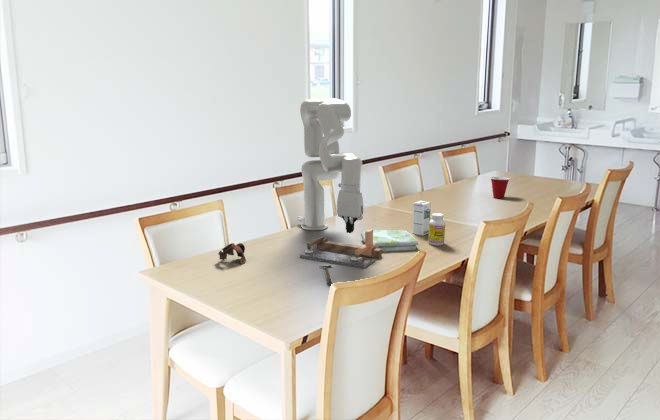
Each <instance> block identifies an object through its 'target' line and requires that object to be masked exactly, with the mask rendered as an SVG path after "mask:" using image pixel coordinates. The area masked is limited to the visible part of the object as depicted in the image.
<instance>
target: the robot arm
mask: <svg viewBox="0 0 660 420" xmlns="http://www.w3.org/2000/svg"><path fill="white" fill-rule="evenodd" d="M299 108H300V109H299V111H300V117H301V120H302V124H303V131H304V132H303V140H304V141H303V142H304V143H303V145H304V153H305V156H306V157H308V158H319V159H315V160H313V159H312V160H307V161H305V162H303V164H302V165H301V175H302V177H301V178H302V181H303V211H304V213H303V216H300V215H299V216H298V217H297V222H301V224H300V227H302V228H301V229H302V230H303V229H304V230H307V231H322V230H325V229H328V227H329V224H328V223H327V222H325V219H326V218H325V217H326V215H325V189H324V187H323V185H322V184H321V183H320V182H321V181H332V180H336V179H337V178H338V177H339V175H341V182H340V183H338V185H337V186H338V187H339V188H340V190H339V191H338V194H337V201H336V202H337V203H336V215H337V217H339V218H341V219H343V221H344V224H345V231H346V233H348V234H351V233H353V232H354V230H355V223H356V222H357V221H361V220H364V218H363V217H364V215H363V214H364V200H363V199H364V198H363V197H364V196H363V193H362V191H361V169H362V168H361V167H362V165H361V164H362V163H361V162H362V161H361V158H360V157H359V156H356V155H355V154H354V153H352V152H340V143H339V140H340V139H342V137H343V136H344V134H345V130H344V126H343V123H342V122H348V121H349V120H350V119H351V117H352V111H351V107H350V105H349V104H348V102H347V101H345V100H341V99H339V98H311V99H305V100H303V101H302V102H301V104H300V107H299ZM340 173H341V174H340Z"/></svg>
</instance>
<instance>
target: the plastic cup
mask: <svg viewBox="0 0 660 420" xmlns="http://www.w3.org/2000/svg"><path fill="white" fill-rule="evenodd" d="M510 179H511V178H510V177H509V178H508V177H503V176H490V181H491V188H492V196H493V197H492V198H493V199H495V198H496V200H503V199H505V195H506V191H507V189H508V188H507V187H508V184H509V181H510Z"/></svg>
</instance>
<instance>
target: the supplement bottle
mask: <svg viewBox="0 0 660 420" xmlns="http://www.w3.org/2000/svg"><path fill="white" fill-rule="evenodd" d="M431 218H432V219H430V222H429V233H428V244H430V245H432V246H443V245H444V244H445V236H446V234H445V233H446V221H445V220H444V214H443V213H440V212H436V213H435V212H434V213H432V214H431Z"/></svg>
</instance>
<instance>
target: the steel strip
mask: <svg viewBox="0 0 660 420" xmlns="http://www.w3.org/2000/svg"><path fill="white" fill-rule="evenodd" d="M300 258H301V259H306V260H312V261H319V262H323V263H329V264H336V265H341V266H348V267H353V268H358V269H366V268H367V267H369V266H370V265H372V264H373V262H374V259H373V258H366V257H361V256H359V257H358V258H356V257H355V255H348V254H342V253H337V252H330V251H325V250H324V251H323V250H319V249H317V250H316V249H312V248H311V250H307V248H306V249H305V250H304V252H302V253H300V254H299V259H300Z"/></svg>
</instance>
